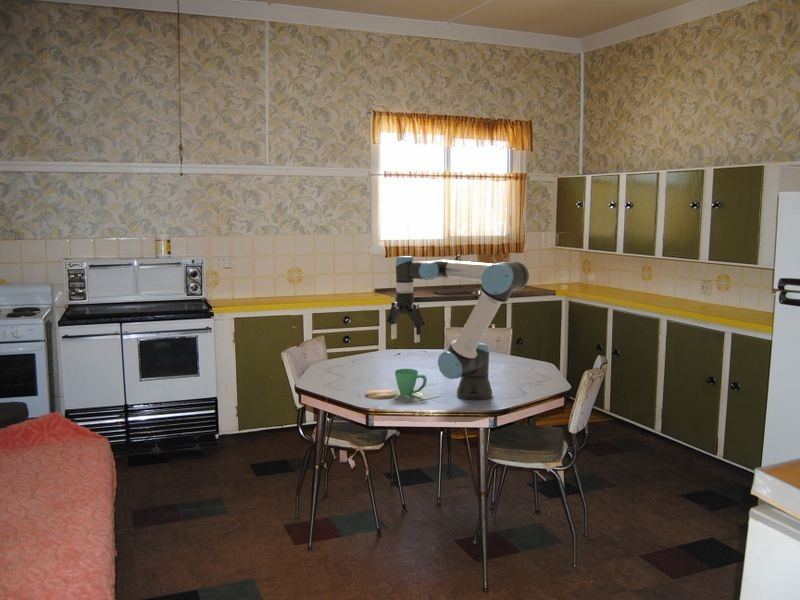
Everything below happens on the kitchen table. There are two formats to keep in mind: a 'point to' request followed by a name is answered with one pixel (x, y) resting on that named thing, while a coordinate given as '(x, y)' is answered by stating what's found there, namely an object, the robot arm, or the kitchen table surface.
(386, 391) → the coaster
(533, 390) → the kitchen table surface
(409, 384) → the mug
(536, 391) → the kitchen table surface
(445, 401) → the kitchen table surface
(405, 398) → the tile
